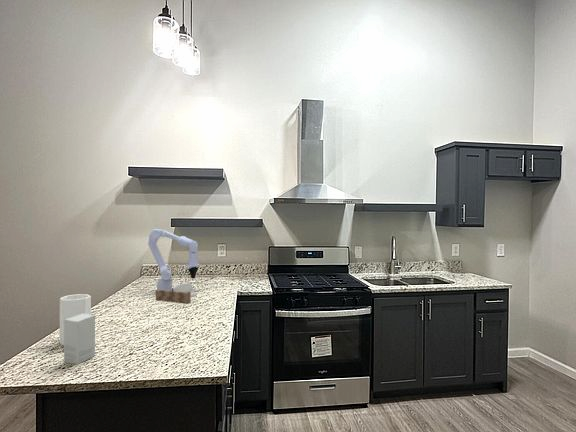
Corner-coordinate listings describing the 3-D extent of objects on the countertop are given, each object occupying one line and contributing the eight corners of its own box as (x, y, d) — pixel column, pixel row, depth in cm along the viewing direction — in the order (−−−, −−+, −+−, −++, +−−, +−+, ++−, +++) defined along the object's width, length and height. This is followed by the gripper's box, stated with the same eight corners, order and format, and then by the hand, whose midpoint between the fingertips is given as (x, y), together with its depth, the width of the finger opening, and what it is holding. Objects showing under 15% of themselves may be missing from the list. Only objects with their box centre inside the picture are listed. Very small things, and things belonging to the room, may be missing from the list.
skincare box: (82, 354, 136) (82, 312, 136) (96, 356, 134) (96, 314, 134) (62, 362, 128) (63, 319, 128) (77, 365, 126) (77, 320, 126)
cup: (57, 347, 142) (57, 301, 142) (62, 338, 152) (62, 295, 152) (89, 344, 147) (89, 298, 147) (91, 335, 157) (92, 293, 157)
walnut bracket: (155, 299, 223) (155, 290, 223) (165, 296, 231) (165, 287, 231) (188, 303, 215) (188, 293, 215) (196, 300, 223) (197, 290, 223)
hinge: (177, 301, 220) (173, 285, 222) (172, 302, 223) (168, 287, 224) (197, 296, 235) (193, 281, 236) (192, 297, 237) (188, 282, 239)
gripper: (191, 259, 238) (191, 280, 238) (204, 257, 252) (204, 277, 252) (183, 259, 241) (182, 279, 241) (195, 257, 254) (195, 276, 254)
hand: (193, 278), depth 246 cm, fingers closed
